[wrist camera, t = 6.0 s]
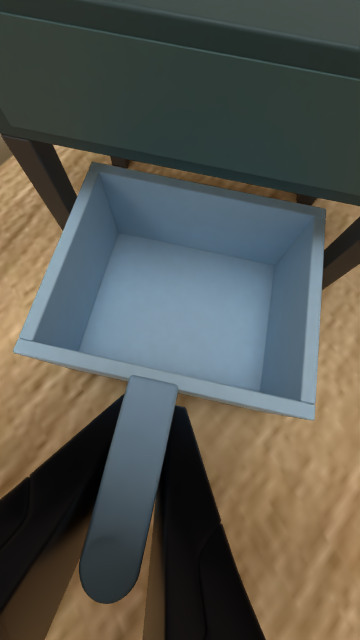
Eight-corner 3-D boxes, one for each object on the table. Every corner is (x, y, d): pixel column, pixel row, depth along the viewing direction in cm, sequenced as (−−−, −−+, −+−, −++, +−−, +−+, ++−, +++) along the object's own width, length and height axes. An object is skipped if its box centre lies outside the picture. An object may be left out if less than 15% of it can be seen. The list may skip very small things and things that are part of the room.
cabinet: (304, 304, 17) (606, 94, 5) (77, 255, 18) (-116, -39, 6) (312, 193, 20) (522, -108, 8) (116, 154, 20) (40, -186, 9)
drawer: (254, 493, 14) (424, 688, 5) (40, 443, 14) (-203, 529, 5) (280, 264, 18) (395, 124, 9) (114, 229, 18) (57, 60, 9)
